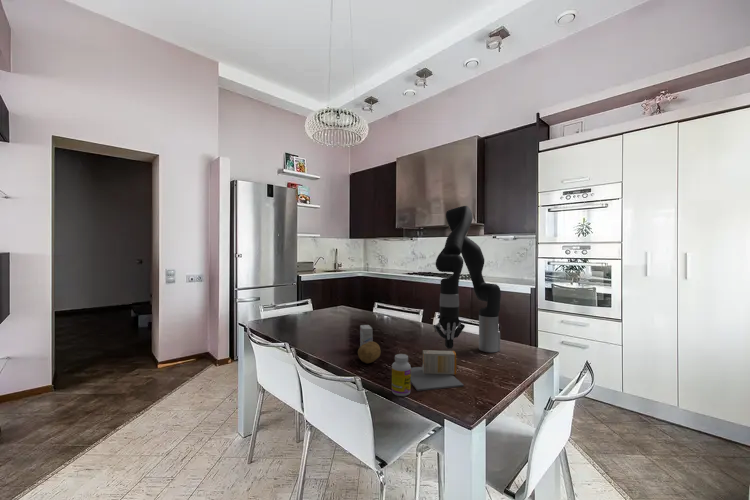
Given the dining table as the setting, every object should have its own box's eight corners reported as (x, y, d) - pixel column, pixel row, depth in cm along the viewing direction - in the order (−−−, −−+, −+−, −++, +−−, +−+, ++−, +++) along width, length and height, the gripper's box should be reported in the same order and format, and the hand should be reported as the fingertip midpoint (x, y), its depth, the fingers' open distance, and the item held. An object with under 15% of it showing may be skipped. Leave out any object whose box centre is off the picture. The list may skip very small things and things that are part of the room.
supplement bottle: (405, 398, 108) (405, 360, 108) (388, 394, 111) (388, 357, 111) (413, 391, 113) (413, 355, 113) (397, 386, 117) (397, 351, 117)
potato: (352, 366, 137) (352, 347, 137) (364, 355, 151) (364, 338, 151) (373, 369, 134) (373, 350, 134) (384, 358, 147) (384, 341, 147)
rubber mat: (440, 366, 137) (440, 365, 137) (463, 386, 118) (463, 384, 118) (400, 369, 133) (400, 368, 133) (417, 390, 114) (417, 389, 114)
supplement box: (454, 350, 131) (422, 349, 132) (456, 354, 126) (423, 353, 127) (454, 370, 131) (422, 369, 132) (456, 375, 127) (423, 373, 127)
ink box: (373, 353, 155) (373, 328, 155) (362, 353, 154) (362, 329, 153) (369, 347, 163) (369, 324, 163) (359, 348, 162) (359, 324, 162)
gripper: (460, 302, 132) (459, 344, 132) (430, 303, 129) (429, 346, 129) (469, 305, 125) (469, 350, 125) (437, 307, 122) (437, 352, 122)
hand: (449, 348), depth 127 cm, fingers closed
